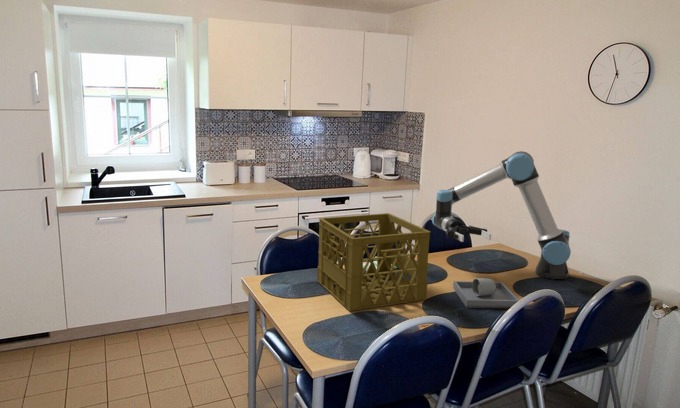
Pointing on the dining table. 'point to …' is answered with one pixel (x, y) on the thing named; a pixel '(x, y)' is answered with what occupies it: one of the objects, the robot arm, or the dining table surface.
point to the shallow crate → (497, 300)
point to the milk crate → (387, 255)
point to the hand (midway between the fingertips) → (476, 237)
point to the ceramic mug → (483, 287)
